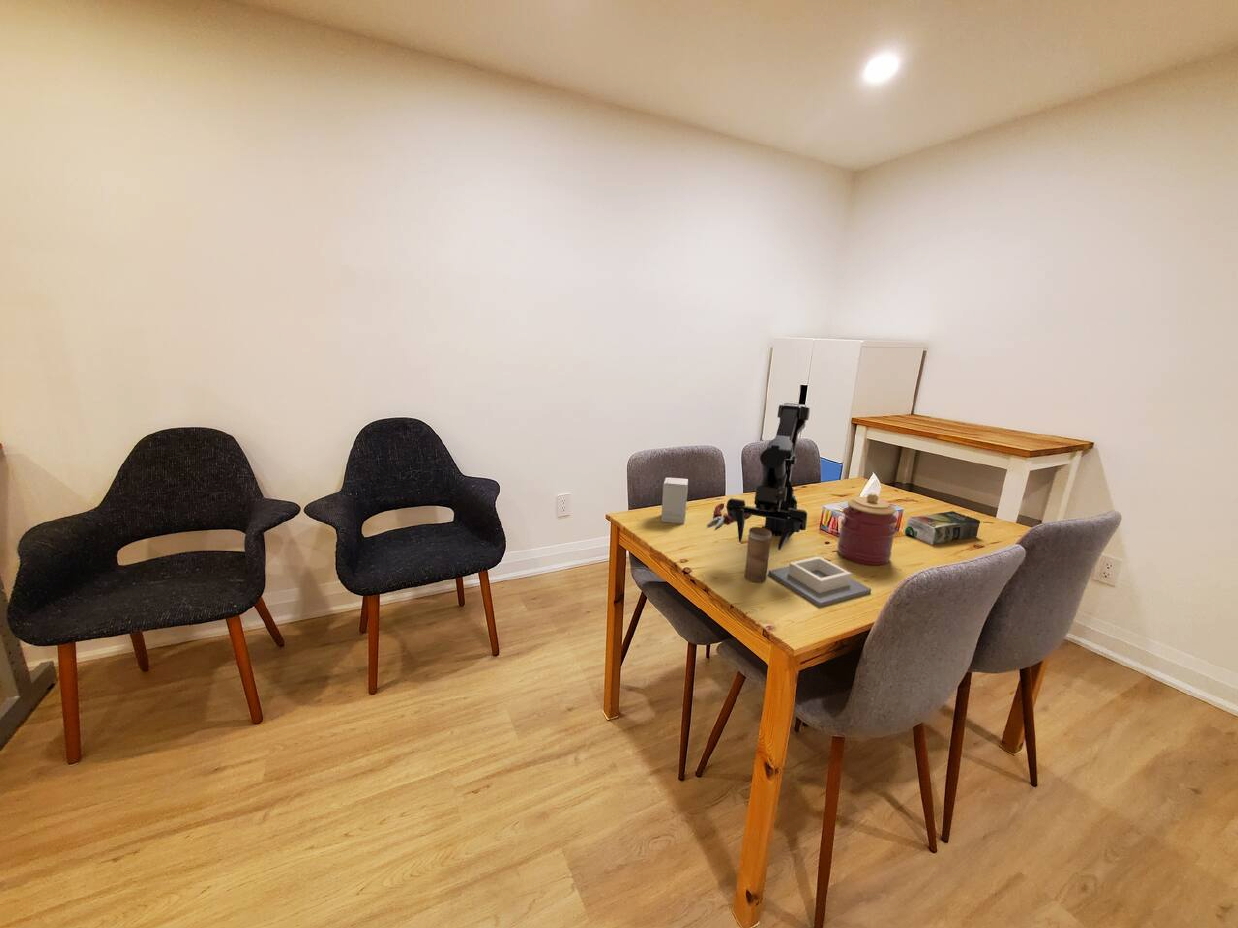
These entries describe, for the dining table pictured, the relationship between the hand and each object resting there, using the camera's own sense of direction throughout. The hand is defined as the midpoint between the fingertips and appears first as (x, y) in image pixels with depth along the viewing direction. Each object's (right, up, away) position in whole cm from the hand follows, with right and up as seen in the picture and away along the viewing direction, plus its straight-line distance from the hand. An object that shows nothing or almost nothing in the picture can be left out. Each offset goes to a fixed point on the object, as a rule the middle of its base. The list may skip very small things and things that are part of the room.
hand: (759, 545), depth 115 cm
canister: (+33, -6, +16) cm, 37 cm away
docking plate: (+14, -9, 0) cm, 16 cm away
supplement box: (-16, +2, +38) cm, 42 cm away
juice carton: (+64, -3, +32) cm, 71 cm away
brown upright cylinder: (0, -8, +2) cm, 8 cm away
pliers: (0, +1, +41) cm, 41 cm away
